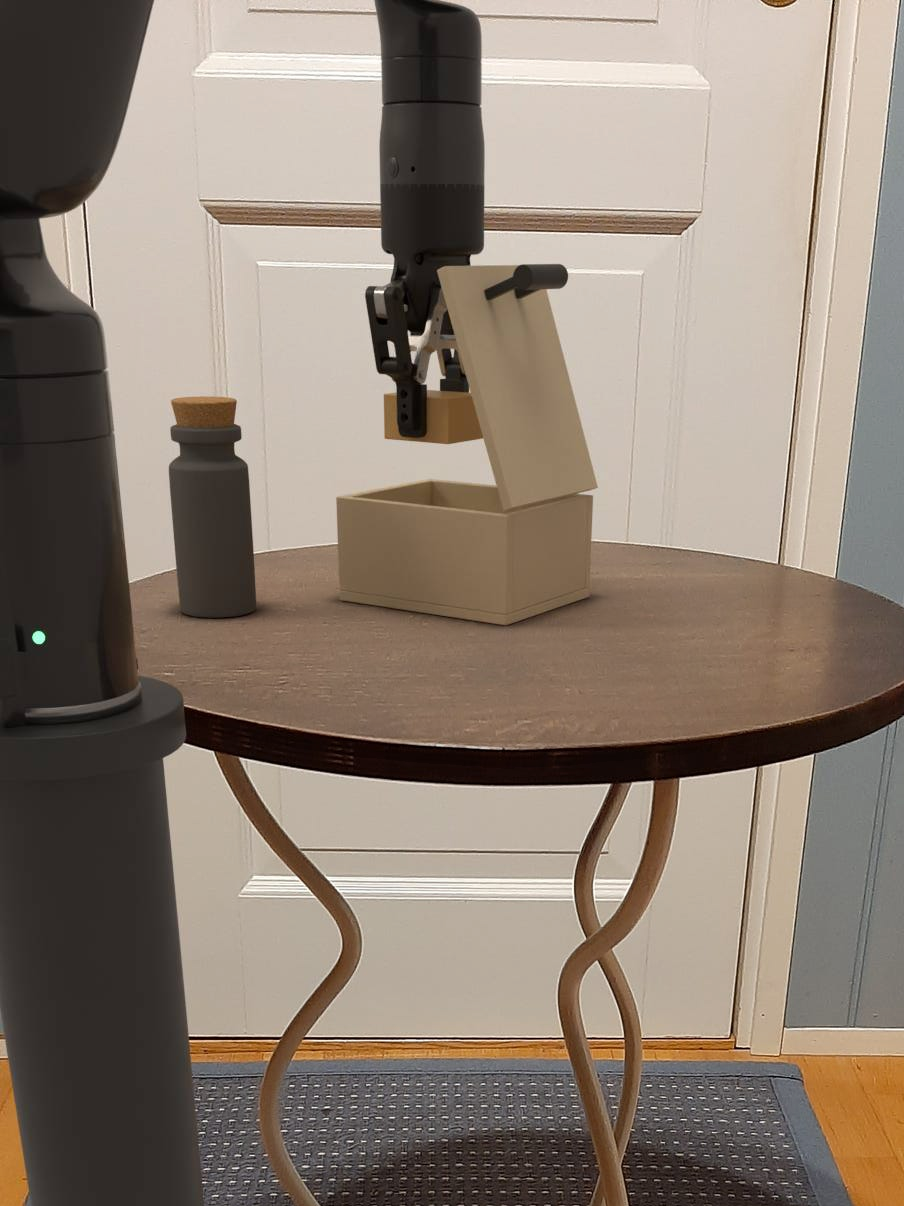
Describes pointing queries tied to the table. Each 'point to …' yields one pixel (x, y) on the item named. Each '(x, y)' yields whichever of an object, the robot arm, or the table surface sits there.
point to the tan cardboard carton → (438, 418)
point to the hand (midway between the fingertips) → (434, 432)
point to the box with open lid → (463, 551)
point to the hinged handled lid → (519, 379)
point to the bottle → (211, 510)
